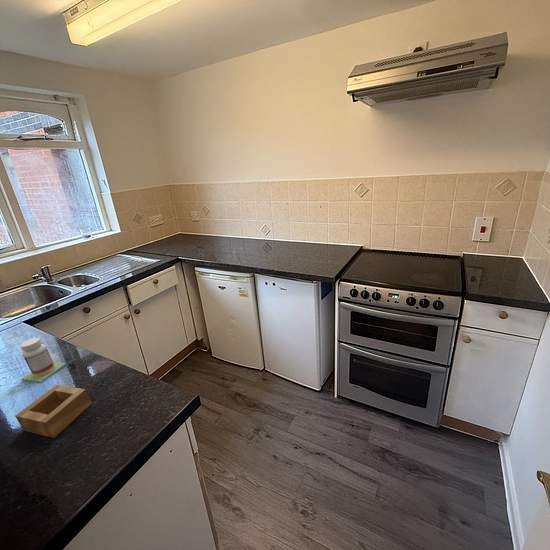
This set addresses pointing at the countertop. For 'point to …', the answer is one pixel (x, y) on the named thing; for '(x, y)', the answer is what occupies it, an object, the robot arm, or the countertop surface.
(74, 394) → the box
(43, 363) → the pill bottle
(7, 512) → the countertop surface
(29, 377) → the mat
